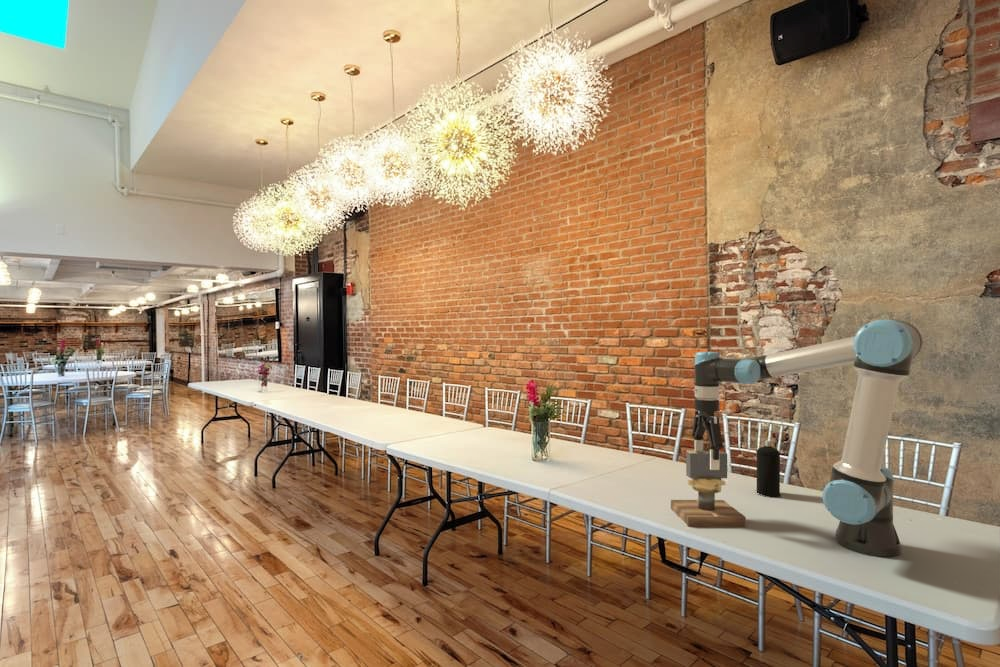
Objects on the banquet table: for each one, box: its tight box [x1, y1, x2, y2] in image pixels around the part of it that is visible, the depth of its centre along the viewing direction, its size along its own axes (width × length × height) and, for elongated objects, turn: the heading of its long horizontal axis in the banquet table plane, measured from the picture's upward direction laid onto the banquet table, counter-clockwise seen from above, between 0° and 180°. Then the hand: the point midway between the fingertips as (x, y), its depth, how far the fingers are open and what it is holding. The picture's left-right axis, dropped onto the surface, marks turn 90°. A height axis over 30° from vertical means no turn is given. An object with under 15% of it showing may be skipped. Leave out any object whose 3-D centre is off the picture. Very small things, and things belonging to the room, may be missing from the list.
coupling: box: [685, 450, 728, 494], centre depth 167 cm, size 9×12×12 cm
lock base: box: [670, 491, 747, 527], centre depth 167 cm, size 16×18×9 cm
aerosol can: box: [755, 439, 781, 498], centre depth 191 cm, size 8×8×20 cm
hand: (706, 464), depth 167 cm, fingers open, 12 cm apart
